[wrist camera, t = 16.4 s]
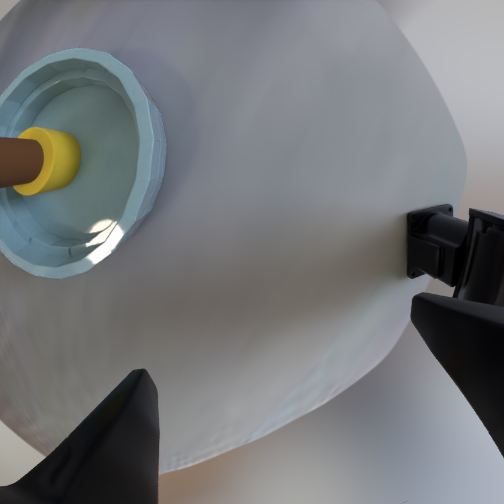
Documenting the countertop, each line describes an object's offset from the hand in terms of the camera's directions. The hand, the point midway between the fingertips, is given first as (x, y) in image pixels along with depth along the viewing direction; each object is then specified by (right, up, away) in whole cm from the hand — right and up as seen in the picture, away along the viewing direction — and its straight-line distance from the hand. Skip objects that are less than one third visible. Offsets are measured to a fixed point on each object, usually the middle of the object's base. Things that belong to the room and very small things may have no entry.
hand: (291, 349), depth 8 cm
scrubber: (-16, +10, +8) cm, 20 cm away
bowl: (-14, +10, +9) cm, 19 cm away
